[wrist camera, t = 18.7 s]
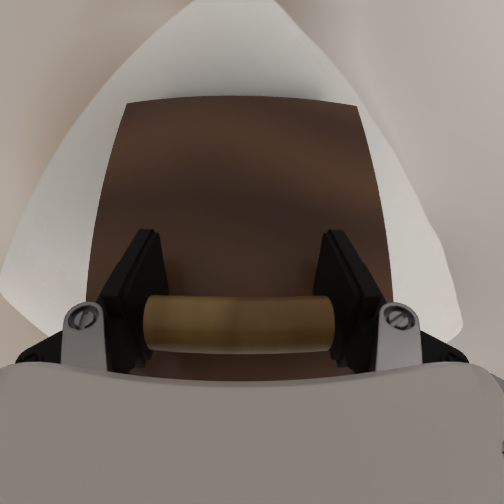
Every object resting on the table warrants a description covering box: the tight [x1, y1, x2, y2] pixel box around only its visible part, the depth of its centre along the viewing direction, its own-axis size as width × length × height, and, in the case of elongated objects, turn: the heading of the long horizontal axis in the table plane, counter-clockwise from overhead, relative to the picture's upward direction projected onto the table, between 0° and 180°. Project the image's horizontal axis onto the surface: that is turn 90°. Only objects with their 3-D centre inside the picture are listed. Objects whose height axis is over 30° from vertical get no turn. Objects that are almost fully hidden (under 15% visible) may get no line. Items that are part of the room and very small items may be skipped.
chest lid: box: [86, 96, 393, 381], centre depth 11 cm, size 15×14×5 cm
